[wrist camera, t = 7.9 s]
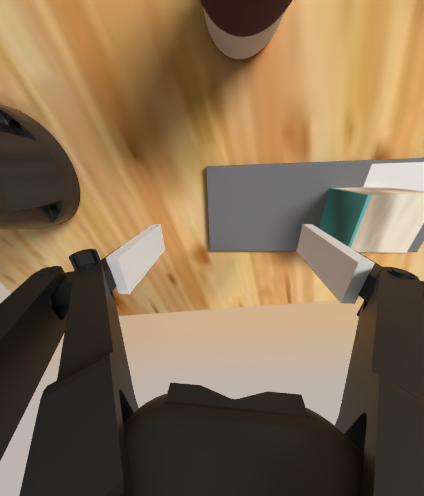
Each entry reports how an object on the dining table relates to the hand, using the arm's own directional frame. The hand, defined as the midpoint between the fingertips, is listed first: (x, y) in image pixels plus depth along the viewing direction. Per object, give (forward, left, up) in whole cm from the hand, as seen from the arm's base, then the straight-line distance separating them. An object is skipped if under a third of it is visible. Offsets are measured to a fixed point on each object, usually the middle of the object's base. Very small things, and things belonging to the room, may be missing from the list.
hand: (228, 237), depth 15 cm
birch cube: (+13, 0, -5) cm, 14 cm away
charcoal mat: (+12, 0, -9) cm, 15 cm away
